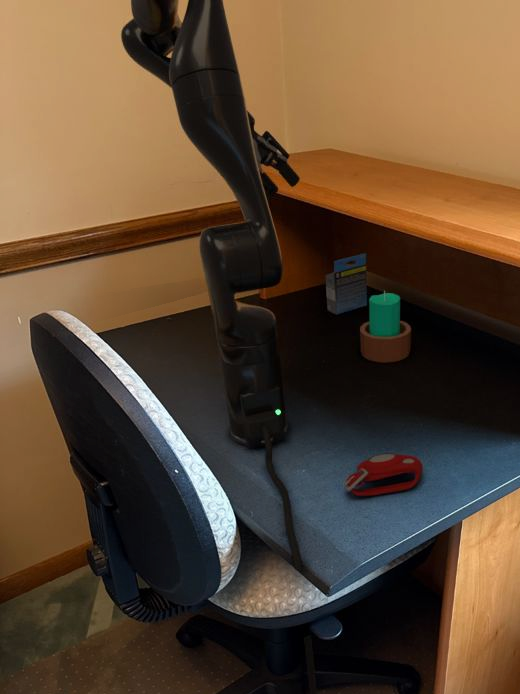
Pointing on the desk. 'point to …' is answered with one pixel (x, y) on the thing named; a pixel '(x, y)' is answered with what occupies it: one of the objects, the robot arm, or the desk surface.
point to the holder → (385, 344)
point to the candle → (384, 315)
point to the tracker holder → (384, 473)
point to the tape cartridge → (347, 285)
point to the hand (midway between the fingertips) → (286, 188)
